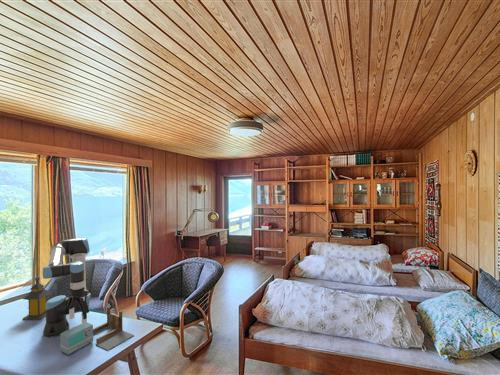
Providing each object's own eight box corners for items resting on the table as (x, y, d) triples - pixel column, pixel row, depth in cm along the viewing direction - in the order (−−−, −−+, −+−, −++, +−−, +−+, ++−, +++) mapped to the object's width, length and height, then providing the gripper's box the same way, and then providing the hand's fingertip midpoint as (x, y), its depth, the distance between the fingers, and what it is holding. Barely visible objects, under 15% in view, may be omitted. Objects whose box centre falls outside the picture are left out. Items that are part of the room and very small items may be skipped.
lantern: (40, 320, 209) (39, 280, 208) (21, 320, 210) (20, 280, 209) (53, 311, 223) (52, 274, 223) (36, 311, 224) (35, 274, 223)
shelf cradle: (84, 337, 187) (83, 316, 186) (109, 325, 202) (108, 306, 202) (97, 343, 179) (97, 322, 179) (122, 330, 195) (122, 311, 195)
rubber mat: (96, 345, 178) (96, 344, 178) (122, 331, 194) (122, 330, 194) (107, 351, 172) (107, 350, 172) (133, 335, 189) (133, 335, 189)
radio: (69, 356, 166) (68, 324, 166) (60, 352, 171) (59, 320, 170) (94, 343, 181) (94, 312, 180) (85, 339, 185) (85, 309, 184)
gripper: (60, 286, 178) (60, 319, 178) (82, 293, 165) (83, 328, 166) (72, 282, 184) (73, 314, 185) (95, 289, 172) (95, 323, 172)
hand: (77, 321), depth 175 cm, fingers open, 13 cm apart
